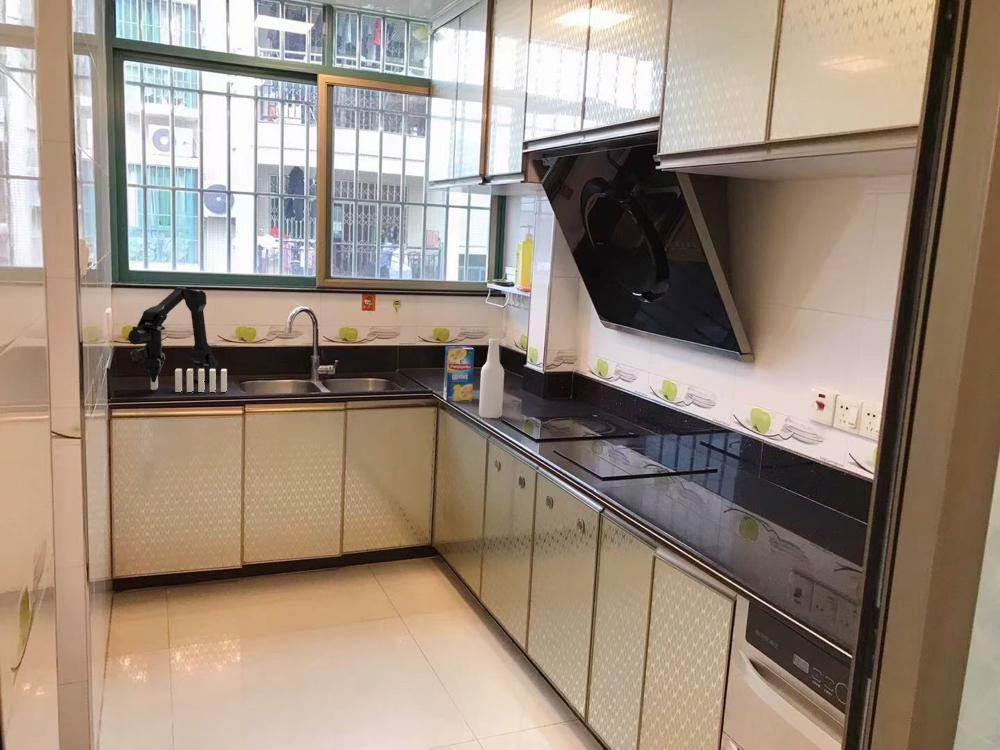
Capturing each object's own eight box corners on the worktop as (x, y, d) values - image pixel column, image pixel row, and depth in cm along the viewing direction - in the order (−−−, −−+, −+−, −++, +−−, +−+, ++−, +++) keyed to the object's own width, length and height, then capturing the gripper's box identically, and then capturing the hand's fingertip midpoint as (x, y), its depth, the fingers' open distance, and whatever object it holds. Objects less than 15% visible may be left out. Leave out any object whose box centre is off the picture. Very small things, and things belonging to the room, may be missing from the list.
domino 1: (150, 389, 321) (150, 367, 319) (152, 387, 325) (152, 365, 324) (156, 389, 321) (155, 367, 320) (157, 387, 326) (157, 365, 324)
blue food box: (472, 401, 339) (474, 349, 335) (446, 401, 336) (448, 348, 332) (468, 397, 345) (471, 346, 341) (443, 397, 342) (445, 346, 339)
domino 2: (175, 392, 323) (175, 370, 322) (176, 390, 328) (176, 368, 326) (180, 392, 324) (180, 370, 322) (182, 390, 329) (181, 368, 327)
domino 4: (198, 392, 326) (198, 370, 324) (199, 390, 330) (199, 368, 329) (203, 392, 326) (203, 370, 325) (204, 390, 331) (204, 368, 329)
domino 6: (221, 392, 328) (220, 370, 327) (221, 390, 333) (221, 368, 331) (226, 392, 329) (226, 371, 327) (226, 390, 333) (226, 368, 332)
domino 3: (186, 392, 324) (186, 370, 323) (188, 390, 329) (187, 368, 328) (192, 392, 325) (192, 370, 324) (193, 390, 330) (193, 368, 328)
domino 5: (209, 392, 327) (209, 370, 325) (210, 390, 332) (210, 368, 330) (214, 392, 327) (214, 370, 326) (215, 390, 332) (215, 368, 331)
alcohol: (480, 418, 307) (484, 339, 302) (477, 413, 315) (481, 336, 310) (503, 419, 308) (507, 340, 303) (499, 414, 317) (504, 337, 312)
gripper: (135, 338, 327) (136, 376, 329) (127, 344, 309) (128, 385, 312) (164, 338, 330) (165, 376, 332) (159, 345, 312) (159, 385, 315)
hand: (154, 380), depth 323 cm, fingers closed on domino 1, 5 cm apart
